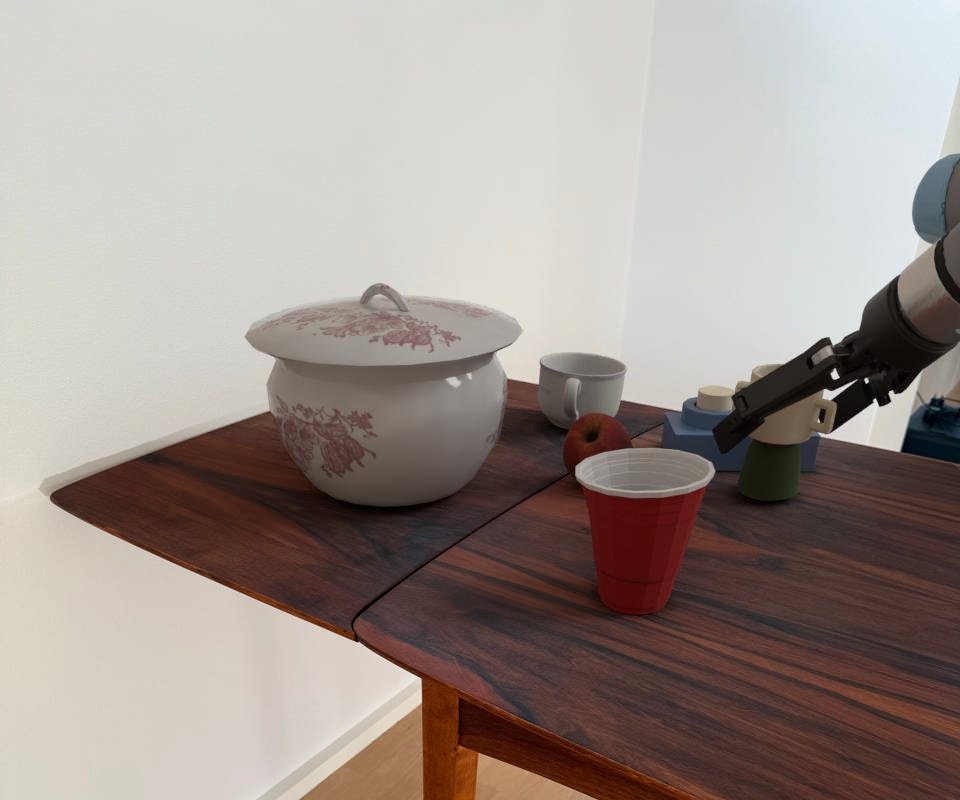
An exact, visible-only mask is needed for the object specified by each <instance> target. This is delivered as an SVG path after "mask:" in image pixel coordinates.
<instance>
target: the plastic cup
mask: <svg viewBox="0 0 960 800" xmlns="http://www.w3.org/2000/svg"><path fill="white" fill-rule="evenodd" d="M575 475H576V478H577V481H579V482H580V485H581V489H582V490H583V496H584V498H585V503H586V508H587V511H588V519H589V529H590V535H591V544H592V554H593V562H594V566H595V569H596V580H597V589H598V590H597V593H598V594H599V600H600V602H602V604H603V605H604V606H605V607H607V608H609V609H611V610H613V611H614V612H618V613H622V614H625V615H640V616H643V615H648V614H649V615H650V614H654V613H656V612H658V611H661V610H662V609H664V607H665V606H666V604H667V603H668V600H669V599H670V597H671V594H672V591H673V588H674V584H675V581H676V578H677V576H678V572H679V571H680V569H681V567H682V564H683V560H684V556H685V553H686V549H687V547H688V543H689V541H690V537H691V535H692V534H691V533H692V530H693V527H694V524H695V521H696V519H697V518H696V517H697V515H698V511H699V510H700V508H701V504H702V501H703V498H704V496H705V493H706V489H707V487H708V485H709V483H710V482H711V481H712V480H713V478H714V477H715V475H716V471H715V469H714V467H713V464H712V462H710V461H708V460H706V459H704V458H703V457H701V456H699V455H696V454H692V453H688V452H684V451H680V450H672V449H662V447H661V448H660V447H635V448H634V447H633V448H631V449H622V450H615V451H609V452H603V453H600V454H597V455H595V456H592V457H589V458H586V459H584V460H583V461H582V462H581V463H579V464H578V465H577V466H576V474H575ZM577 481H576V482H577Z"/></svg>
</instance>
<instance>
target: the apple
mask: <svg viewBox="0 0 960 800" xmlns="http://www.w3.org/2000/svg"><path fill="white" fill-rule="evenodd" d="M632 443H633V442H632V440H631V437H630V434H629V431H627V429H626V427H625V426H624V425H623V424H622V423H621V422H620V421H619V420H617V419H616V418H615V417H614V418H613V417H611V416H609V415H606V414H602V413H589V414H586V415H584V416H582V417H580V418H579V419H578V420H577V421H576V422H575V423H574V424H573V425H572V427H571V428H570V430H569V429H568V431H567V434H566V436H565V439H564V442H563V447H562V458H563V464H564V467H565V468H566V470H567V472H568V474H569V475H570V477H571V478H572V479H573V480H574V481H575V482H577V483H578V484H580V482H579V481H577V478H576V475H575V474H576V466H577V465H578V464H579V463H581V462H582V461H583V460H584V459H586V458H589V457H592V456H595V455H597V454H600V453H603V452H609V451H615V450H622V449H631V448H634V447H633V444H632ZM580 485H581V484H580Z"/></svg>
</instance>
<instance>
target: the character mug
mask: <svg viewBox="0 0 960 800" xmlns="http://www.w3.org/2000/svg"><path fill="white" fill-rule="evenodd" d="M784 364H785V363H769V364H762V365H757V366H755V367H754V368H753V369H752V370H751V374H750V379H749V381H746V380H738V381H737V383H736V384H735V388H734V394H735V393H736V392H739V391H740V390H741V389H742V388H744V387H747V386H749V385H750V384H752V383H754V382H755V381H757V380H759V379H760V378H762V377H764V376H765V375H767V374H769V373H770V372H772V371H774V370H775V369H777V368H779V367H780V366H782V365H784ZM824 392H825V389H824V390H822V391H820V392H817V393H815V394H813V395H811V396H809V397H807V398H805V399H803V400H801V401H799V402H797V403H794V404H792V405H790V406H788V407H786V408H784V409H782V410H780V411H778V412H776V413H774V414H771V415H769V416H767V417H765V418H764V419H765V423H763V424H762V425H761V426H760V427H758V428H757V429H756V430H755V431H754V432H752V433H751V434H750V435H749V437H751V438H753V440H752V442H751V443H750V445H749V446H748V449H747V452H746V455H745V459H744V462H743V465H742V468H741V471H739V474H738V477H737V481H736V482H737V483H736V487H737V490H738V491H739V493H741V494H742V495H743V496H745V497H747V498H750V499H752V500H757V501H764V502H765V501H766V502H767V501H769V502H775V501H780V500H781V501H783V500H788V499H791V498H793V497H794V498H795V497H796V496H797V495H798V494H799V489H800V482H801V471H800V469H801V449H800V445H799V443H802V442H805V441H807V440H808V439H809V438H810V437H811V436H812V435H813V433H814V432H818V434H823V435H829V434H831V433H830V432H831V430H832V427H833V423H834V418H835V414H836V409H837V405H836V403H835V402H833V401H831V400H832V399H826V398H824ZM820 408H821V409H825V410H826V414H825V418H824V423H820V421H819V419H818V418H819V413H820ZM733 410H735V406H734V403H733ZM818 421H819V422H818Z"/></svg>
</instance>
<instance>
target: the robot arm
mask: <svg viewBox="0 0 960 800" xmlns="http://www.w3.org/2000/svg"><path fill="white" fill-rule="evenodd" d="M911 219H912V223H913V226H914V231H915V232H916V234H917V236H918V237H919V238H921V240H923V241H924V242H926V243H928V244H931V245H930V246H929V247H928V248H927V249H925V250H924V251H923V252H922V253H921V254H920V255H918V257H916V258H915V259H913V260H912V261H911V262H910V263H909V264H907V266H905V268H904V269H903V270H901V272H900V273H899V274H898V275H896V276H895V277H894V278H893V279H891V280H889V282H888V283H887V284H886V285H885V286H883V287H882V288H881V289H880V290H879V291H878V292H877V293H875V294H873V296H872V297H871V298H870V299H869V300H868V301H867V302H866V303H865V305H864V308H863V309H862V313H861V321H860V325H859V329H857V330H855V331H853V332H851V333H849V334H847V335H844V337H843V338H842V340H841V341H839V342H838V343H836V344H834V345H833V342H832V340H831V338H830V336H826V337H822V338H820V339H818V341H816V342H815V343H814V344H813V345H811V346H810V347H808V349H806V350H804V351H803V352H802V353H801V354H799V355H796V356H795V357H794V358H792V359H790V360H789V361H787V362H785V363H783V364H784V365H782V366H780V367H779V368H777V369H775V370H774V371H772V372H770V373H769V374H767V375H765V376H764V377H762V378H760V379H759V380H757V381H755V382H754V383H752V384H750V385H749V386H747V387H744V388H742V389H741V390H740V391H739V392H736V393H735V392H734V395H732V396H731V398H732V401H733V403H734V406H735V410H734V411H733V412H731V413H730V414H729V415H728V416H727V417H726V418H725V419H724V420H722V421H721V422H720V423H719V424H718V425H717V426H716V427H714V428H713V429H712V432H713V435H714V438H715V440H716V443H717V445H718V448H719V451H720V453H721V454H725V453H728V452H729V451H730V450H731V449H733V448H734V447H735V446H736V445H738V444H739V443H740V442H741V441H742V440H744V439H745V438H746V437H747V436H749V435H750V434H751V433H752V432H754V431H755V430H756V429H757V428H758V427H760V426H761V425H762V424H763V423H765V419H764V418H765V417H767V416H769V415H771V414H774V413H776V412H778V411H780V410H782V409H784V408H786V407H788V406H790V405H792V404H794V403H797V402H799V401H801V400H803V399H805V398H807V397H809V396H811V395H813V394H815V393H817V392H820V391H822V390H824V391H825V390H827V391H829V392H834V391H836V390H838V389H840V388H843V387H845V386H846V385H849V384H850V385H849V386H847V387H846V388H844V389H843V390H842V391H841V392H840V393H838V394H837V395H835V396H834V397H833V398H832V399H830V400H831V401H833V402H835V403H836V405H837V409H836V414H835V418H834V423H833V427H832V430H831V432H830V434H832V433H834V432H835V431H836V430H837V429H840V427H842V426H843V425H844V424H846V423H847V422H849V421H851V420H852V419H853V418H855V417H856V416H857V415H859V414H860V413H862V412H863V411H864V410H866V409H868V407H870V406H871V405H873V404H874V403H875V402H874V400H876V402H877V405H878V407H879V408H880V407H881V408H883V407H885V406H887V405H889V404H890V403H892V399H891V396H890V392H893V394H894V395H900V394H902V393H905V391H907V389H908V388H909V387H910V386H911V385H912V384H913V382H914V381H915V380H916V379H917V378H918V376H919V375H920V374H921V372H922V371H923V370H924V369H927V368H929V366H931V365H932V364H934V363H935V362H937V361H938V360H939V359H941V358H943V356H945V355H946V354H948V353H949V352H951V351H952V350H953V349H955V347H957V346H958V344H959V343H960V153H952V154H948V155H946V156H945V157H943V158H940V159H938V160H937V161H935V163H933V164H932V165H931V166H930V167H929V168H928V169H927V170H926V172H925V173H924V175H923V176H922V178H921V180H920V182H919V184H918V185H917V188H916V190H915V193H914V196H913V201H912V206H911ZM834 371H836V374H837V377H838V378H835V379H834V378H833V375H832V373H834ZM866 379H867V381H868V382H866ZM825 414H826V410H825V409H821V408H820V413H819V418H818V421H819V423H824V418H825Z"/></svg>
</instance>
